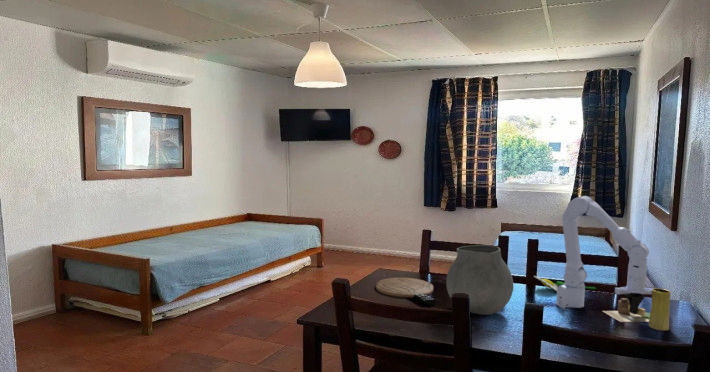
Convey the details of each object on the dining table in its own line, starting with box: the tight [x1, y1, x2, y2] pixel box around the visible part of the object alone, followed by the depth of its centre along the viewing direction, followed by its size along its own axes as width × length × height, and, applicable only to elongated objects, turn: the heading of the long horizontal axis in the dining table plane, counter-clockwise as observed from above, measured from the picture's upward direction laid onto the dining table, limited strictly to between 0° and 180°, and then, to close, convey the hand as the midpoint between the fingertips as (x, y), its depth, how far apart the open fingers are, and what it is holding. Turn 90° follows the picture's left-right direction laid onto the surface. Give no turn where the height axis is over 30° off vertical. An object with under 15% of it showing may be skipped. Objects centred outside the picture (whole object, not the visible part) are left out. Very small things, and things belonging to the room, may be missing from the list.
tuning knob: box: [617, 297, 646, 316], centre depth 173 cm, size 10×4×5 cm, turn 27°
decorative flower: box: [533, 275, 597, 293], centre depth 207 cm, size 13×5×30 cm
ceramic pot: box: [446, 244, 514, 316], centre depth 177 cm, size 24×24×25 cm
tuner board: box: [602, 310, 650, 323], centre depth 173 cm, size 16×11×2 cm
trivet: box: [375, 277, 434, 299], centre depth 205 cm, size 25×25×2 cm
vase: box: [648, 287, 671, 331], centre depth 162 cm, size 6×6×14 cm
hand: (633, 313), depth 171 cm, fingers closed, pressing on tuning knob
